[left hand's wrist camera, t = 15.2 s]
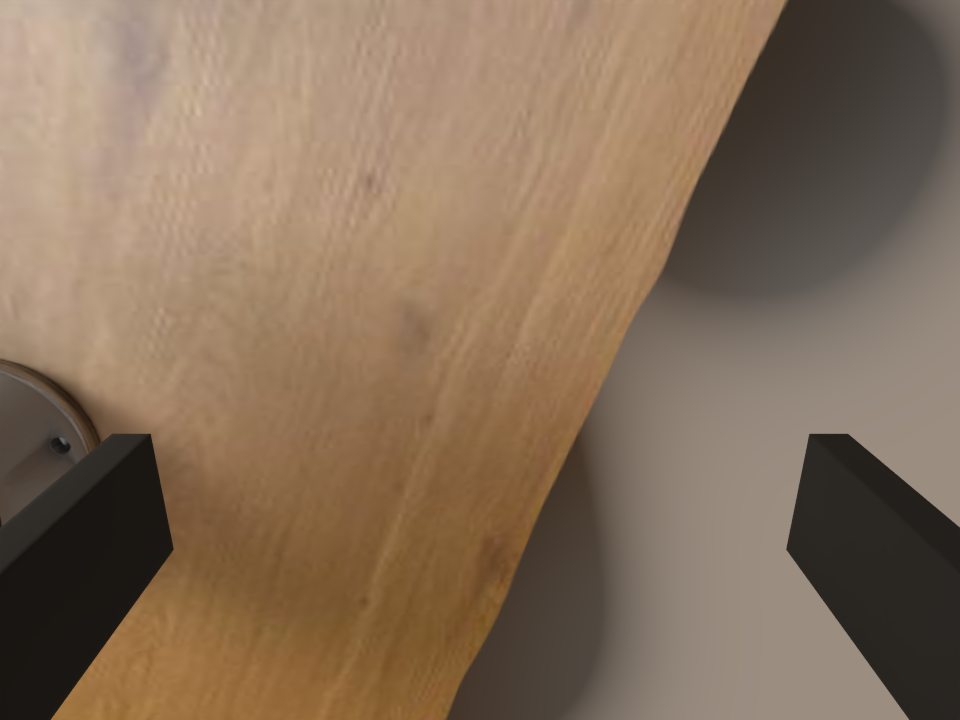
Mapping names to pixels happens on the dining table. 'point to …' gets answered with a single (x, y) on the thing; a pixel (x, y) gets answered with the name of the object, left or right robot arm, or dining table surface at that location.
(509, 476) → the dining table surface
